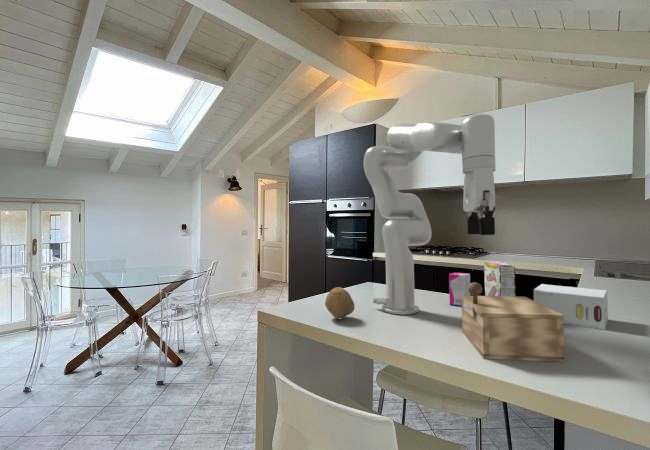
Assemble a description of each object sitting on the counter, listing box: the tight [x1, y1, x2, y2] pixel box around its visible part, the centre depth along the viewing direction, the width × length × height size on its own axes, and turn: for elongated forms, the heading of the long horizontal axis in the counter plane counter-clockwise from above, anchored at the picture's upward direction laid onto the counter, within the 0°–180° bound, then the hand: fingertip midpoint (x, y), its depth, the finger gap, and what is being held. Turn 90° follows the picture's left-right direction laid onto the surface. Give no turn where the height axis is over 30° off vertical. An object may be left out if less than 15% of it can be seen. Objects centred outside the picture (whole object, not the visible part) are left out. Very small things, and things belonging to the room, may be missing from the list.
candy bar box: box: [483, 260, 516, 296], centre depth 109 cm, size 11×5×16 cm, turn 179°
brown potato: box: [324, 286, 355, 319], centre depth 105 cm, size 9×9×10 cm
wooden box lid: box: [460, 281, 564, 319], centre depth 79 cm, size 17×18×8 cm
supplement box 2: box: [533, 283, 609, 331], centre depth 100 cm, size 17×13×9 cm
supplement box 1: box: [448, 272, 472, 308], centre depth 120 cm, size 6×6×12 cm
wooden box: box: [461, 301, 565, 363], centre depth 79 cm, size 16×18×9 cm
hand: (480, 234), depth 82 cm, fingers open, 9 cm apart
